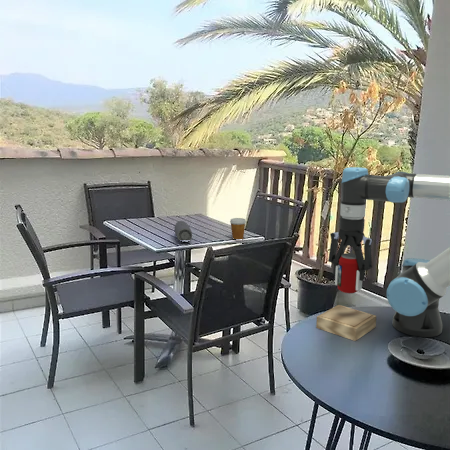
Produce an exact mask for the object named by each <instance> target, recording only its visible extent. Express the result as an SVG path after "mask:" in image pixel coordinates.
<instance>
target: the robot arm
mask: <svg viewBox="0 0 450 450" xmlns="http://www.w3.org/2000/svg"><path fill="white" fill-rule="evenodd" d="M341 177H342V178H341V182H340V183H341V188H340V189H341V190H340V191H341V192H340V193H341V195H340V198H341V199H340V213H339V215H340V216H341V217H340V218H339V226H338V227H339V230H338V231H335V232H334V231H333V232H330V234H329V235H330V247H329V252H328V253H329V254H328V262H329V263H332V265H333V275H334V278H335V279H334V285H335V286H338V269H339V259H340V257H341V256H342V254H344V253H346V249H347V247H352V249H353V251H354V254H355V255H356V259H357V263H358V267H359V270H357V276H356V291H357V292H359V291H360V290H362V289H363V281H365V280H366V271H369V270H371V269H372V268H373V262H372V261H373V258H372V257H373V256H372V255H373V254H372V244H373V242H374V239H373V238H372V237H367V236H365V234H364V231H365V221H366V220H365V216H366V204H367V202H366V201H367V200H368V201H376V202H377V201H378V202H379V201H380V202H388V203H389V202H390V203H393V204H394V203H405V202H406V201H407V199H408V198H415V199H425V200H426V199H427V200H439V201H447V202H448V201H450V175H446V174H445V175H442V174H441V175H440V174H430V173H429V174H427V173H426V174H424V173H411V172H410V173H408V172H406V171H397V172H395V173H392V174H388V175H374V174H373V175H372V174H369V169H368V168H366V167H359V166H358V167H354V166H353V167H345V168H344V169H343V171H342V176H341ZM339 239H340V240H341V241H340V242H339ZM362 241H363V245H364V246H363V247H362ZM338 244H339V247H338ZM362 248H363V249H362ZM401 266H402V271H401V272H400V273H399V274H398V275H397V277H395V278H394V279H392V280H391V281H390V283H389V284H388V287H387V289H386V299H387V302H388V303H389V306H390V307H391V308H392V309H393V310H394V311H395V312H394V315H393V317H392V326H393V328H395V330H397V331H398V332H401V333H403V334H405V335H408V336H413V337H419V338H432V337H438V336H439V335H441V334H442V332H443V321H442V318H441V314H440V309H439V305H440V303H439V302H440V299H441V298H442V297H444V296H446V294H447V289H448V288H449V286H450V246H449V247H448V248H446V249H445V250H443V251H442V252H440V253H439V254H438V255H436V256H435V257H433V258H432V259H425V258H413V257H411V258H410V257H409V258H405V259H403V262H402V265H401Z"/></svg>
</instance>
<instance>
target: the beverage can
mask: <svg viewBox="0 0 450 450" xmlns="http://www.w3.org/2000/svg"><path fill="white" fill-rule="evenodd" d="M357 270H359V267H358V263H357V259H356V255H355V253H350V252H347V253H346V252H344V254H342V256H341V257H340V259H339V269H338V285H337V290H338V291H340V292H341V293H344V294H350V295H351V294H355V293H357V292H358V291H356V276H357Z"/></svg>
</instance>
